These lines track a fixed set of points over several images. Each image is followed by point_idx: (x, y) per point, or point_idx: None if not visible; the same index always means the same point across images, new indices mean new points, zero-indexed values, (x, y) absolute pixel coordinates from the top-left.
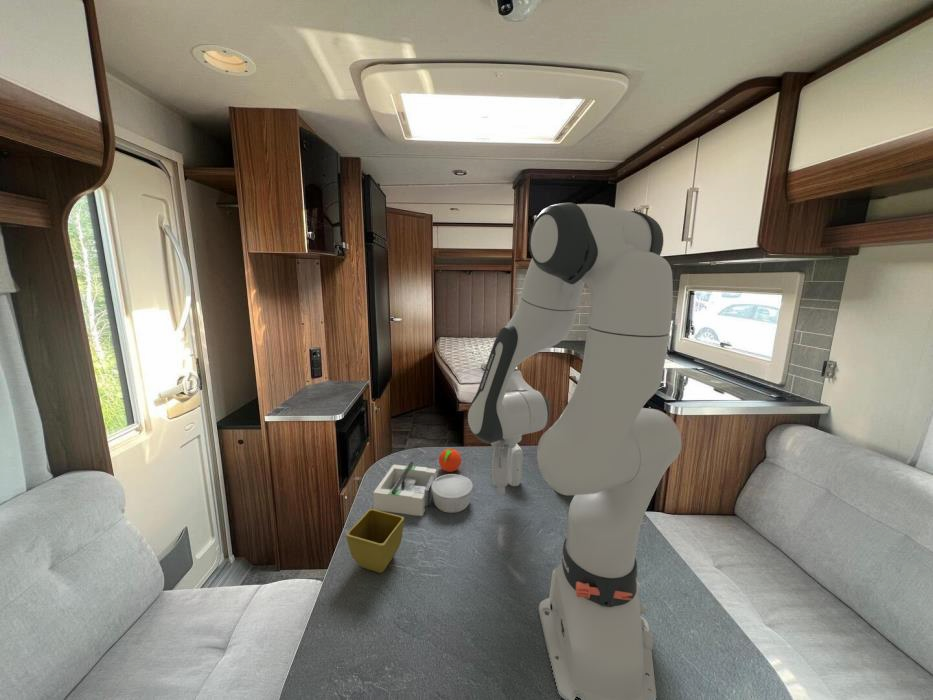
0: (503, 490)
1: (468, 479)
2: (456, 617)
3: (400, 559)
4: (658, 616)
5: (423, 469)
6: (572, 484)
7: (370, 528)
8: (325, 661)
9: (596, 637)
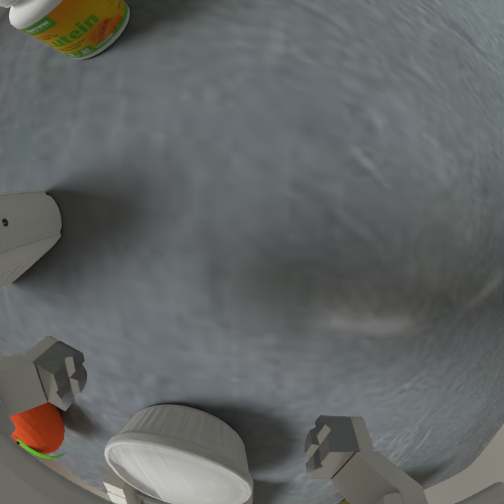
0: (365, 442)
1: (122, 444)
2: (497, 385)
3: None
4: None
5: (119, 499)
6: None
7: None
8: (461, 466)
9: None
